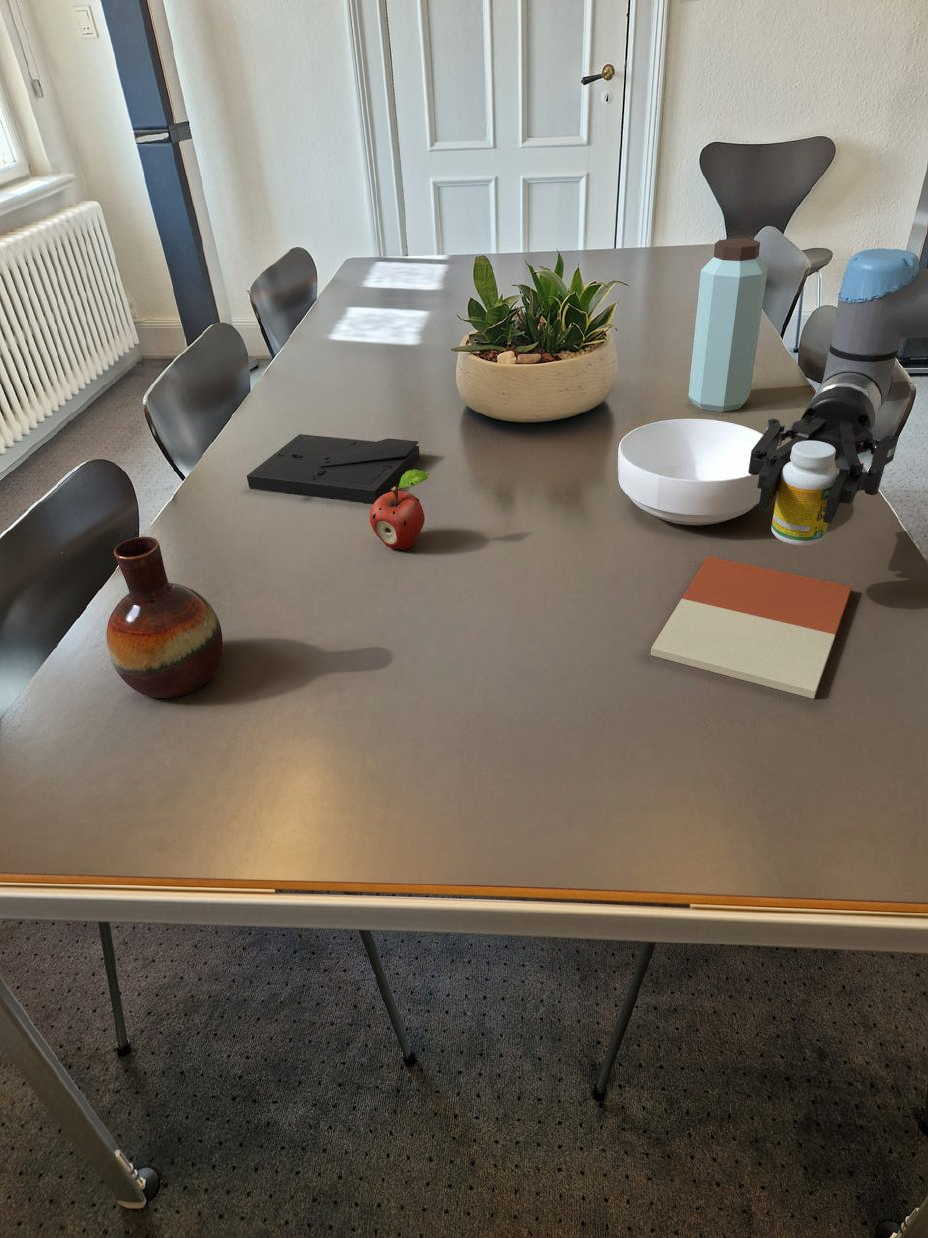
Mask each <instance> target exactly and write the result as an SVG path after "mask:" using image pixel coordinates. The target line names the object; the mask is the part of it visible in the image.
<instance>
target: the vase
mask: <svg viewBox="0 0 928 1238" xmlns="http://www.w3.org/2000/svg"><path fill="white" fill-rule="evenodd" d="M113 555H114V557H115V560H116V563H117V564H118V567H119V569H120V572H121V573H122V576H123V578H124V579H123V580H125V581H124V582H125V584H126V586H127V591H128V593H127V594H126V595H125V596H124V597H122V599H121V600H120V601H119V602H118V603H117V604H116V606H115V607H114V608H113V610H112V612H111V613H110V615H109V618H108V622H107V625H106V629H105V645H106V646H105V647H106V650H107V655H108V657H109V660H110V662H111V665H112V666H113V668H114V670H115V671H116V673H117V674H118V675H119V677H120V678H121V680H122V681H123V682H124V683H125V684H127V685H128V686H129V688H131V689H132V690H134V691H135V692H137V693H140V694H141V695H143V696H146V697H151V698H157V699H170V698H171V699H172V698H176V697H177V698H178V697H182V696H184V695H187V694H189V693H192V692H195V691H196V690H198V689H200V688H201V687H202V686H204V685H205V684H206V683H207V682H208V681H209V680H210V679H211V678H212V677H213V676H214V674H215V673H216V670H217V669H218V667H219V665H220V663H221V659H222V655H223V644H224V640H223V632H222V631H223V630H222V626H221V623H220V619H219V616H218V615H217V613H216V611H215V609H214V608H213V606H212V604H210V602H209V601H208V600H207V599H206V598H205V597H204V596H203V595H202V594H200V593H199V592H197V591H196V590H194V589H192V588H190V587H188V586H185V585H182V584H179V583H176V582H169V579H168V575H167V572H166V568H165V564H164V559H163V554H162V549H161V546H160V542H159V540H157V538H154V537H151V536H137V537H136V536H135V537H132V538H129V539H127V540H124V541H122V542H121V543H119V544H118V545H116V546H115V548H114V549H113Z"/></svg>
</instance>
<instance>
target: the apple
mask: <svg viewBox="0 0 928 1238" xmlns="http://www.w3.org/2000/svg"><path fill="white" fill-rule="evenodd" d="M429 476H430V473H429V472H427V471H426V472H425V471H423V470H420V469H416V468H414V469H410V470H409V471H407V472H406V473H405V475H404V474H403V475H402V477H401V479H400V480H399V484H398V487H396V486H394V487H393V488H392V489H391V491H389V492H388V493H386V494H384V495H382V496H381V497H379V498H378V499H377V500H376V502H375V503H374V504H372V505H371V507H370V511H369V515H368V516H369V523H370V526H371V529H372V531H373V533H374V534H375V535H376V536H377V537H378V538H379V540H380V541H381V542H382V543H383V544H384V546H386V547H387V548H389V549H392V550H408V549H410V548H412V547H413V546H414V544H415V542H416V541H417V539H418V537H419V535H420V533H421V532H422V529H423V527H424V526H425V519H426V518H425V512H424V509H423V506H422V504H421V502H420V499H419V498H418V497H416V496H415V495H414V494H412V493H410V492H408V491H404V490H400V489H403V488H411V487H413V486H417V485H419V484H420V483H422V482H424V481H427V479H428V478H429Z"/></svg>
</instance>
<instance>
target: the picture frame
mask: <svg viewBox="0 0 928 1238" xmlns="http://www.w3.org/2000/svg"><path fill="white" fill-rule="evenodd" d="M418 444H419V441H418V440H410V439H409V440H408V439H399V438H389V437H388V438H385V439H381V440H377V441H373V440H363V439H354V438H353V439H352V438H343V437H333V436H323V435H312V434H303V433H299V434H298V435H296V436H295V437H294V438H293V439H291V440H290V441H289V442H287V443H286V444H285V445H284V446H282V447H281V448H280V449H279V450H277V451H276V452H275V453H273V454H272V455H271V456H270V457H268V458H267V459H265V460H264V461H263V462H262V463H261V464H260V465H258V466H257V467H256V468H254V469H253V470H252V471H250V472H249V473H248V474H247V475H246V480H247V484H248V488H249V489H251V490H258V491H267V492H275V493H283V494H290V495H291V494H292V495H300V496H308V497H313V498H315V497H316V498H323V499H332V500H339V501H347V502H354V503H355V502H356V503H361V504H362V503H363V504H372V505H373V504H374V503H375V502H376V500H377V499H378V498H379V497H381V496H382V495H384V494H386V493H389V492H391V491H392V488H393V487H396V485H397V484H398V482H400V480H401V477H402V475H403V474H404V475H405V473H406V472H407V471H409V470H412V468H413V467H414V466H415V465H416V463H417V462H419V461H420V459H421V454H420V446H419V445H418Z"/></svg>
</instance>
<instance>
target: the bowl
mask: <svg viewBox="0 0 928 1238" xmlns="http://www.w3.org/2000/svg"><path fill="white" fill-rule="evenodd" d="M763 435H764V433H761V432H759V431H757V430H756V429H753V428H750V427H748V426H745V425H741V424H739V423H738V424H737V423H733V422H728V421H722V420H719V419H708V418H674V419H668V420H667V419H666V420H660V421H659V420H658V421H655V422H651V423H647V424H644V425H641V426H639V427H636V428H635V429H633V430H631V431H629V432H628V433H626V434H625V435H624V436H623V437H622V439H621V440H620V441H619V443H618V449H617V451H618V453H617V456H618V457H617V476H618V478H617V479H618V483H619V486H620V488H621V490H622V491H623V492H624V493H625V494H626V496H628V498H629V499H630V500H631V501H632V502H633V504H635V505H636V506H637V507H639V508H640V509H642V511H645V512H647V513H648V514H650V515H651V516H654V517H656V518H658V519H660V520H663V521H666V522H668V523H673V524H677V525H685V526H709V525H715V524H716V525H717V524H719V523H724V522H726V521H729V520H732V519H734V518H737V517H740V516H741V515H744V514H746V513H748V512H749V511H751V510H752V509H754V507H755V506H756V505H759V501H760V494H761V489H760V488H757V481H758V475H759V474H758V475H751V474H749V473H748V470H749V463H750V456H751V450H752V449H753V448H754V446H755V445H756V444H757V442H758V441H759V440H760V439H761V437H762V436H763Z"/></svg>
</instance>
